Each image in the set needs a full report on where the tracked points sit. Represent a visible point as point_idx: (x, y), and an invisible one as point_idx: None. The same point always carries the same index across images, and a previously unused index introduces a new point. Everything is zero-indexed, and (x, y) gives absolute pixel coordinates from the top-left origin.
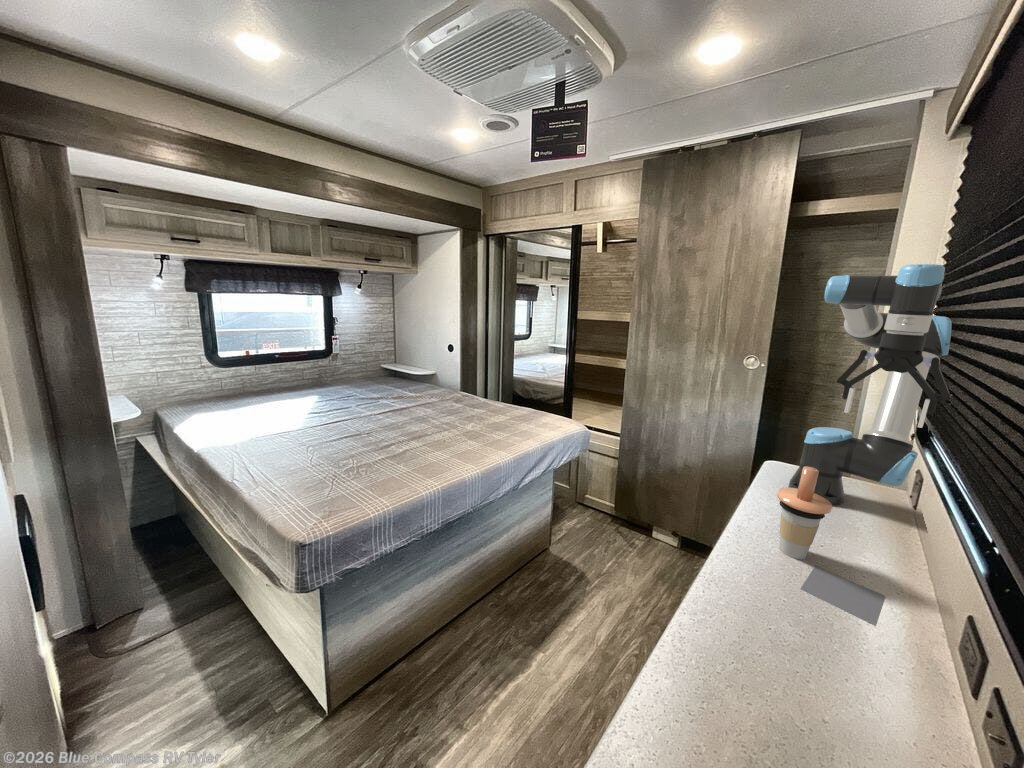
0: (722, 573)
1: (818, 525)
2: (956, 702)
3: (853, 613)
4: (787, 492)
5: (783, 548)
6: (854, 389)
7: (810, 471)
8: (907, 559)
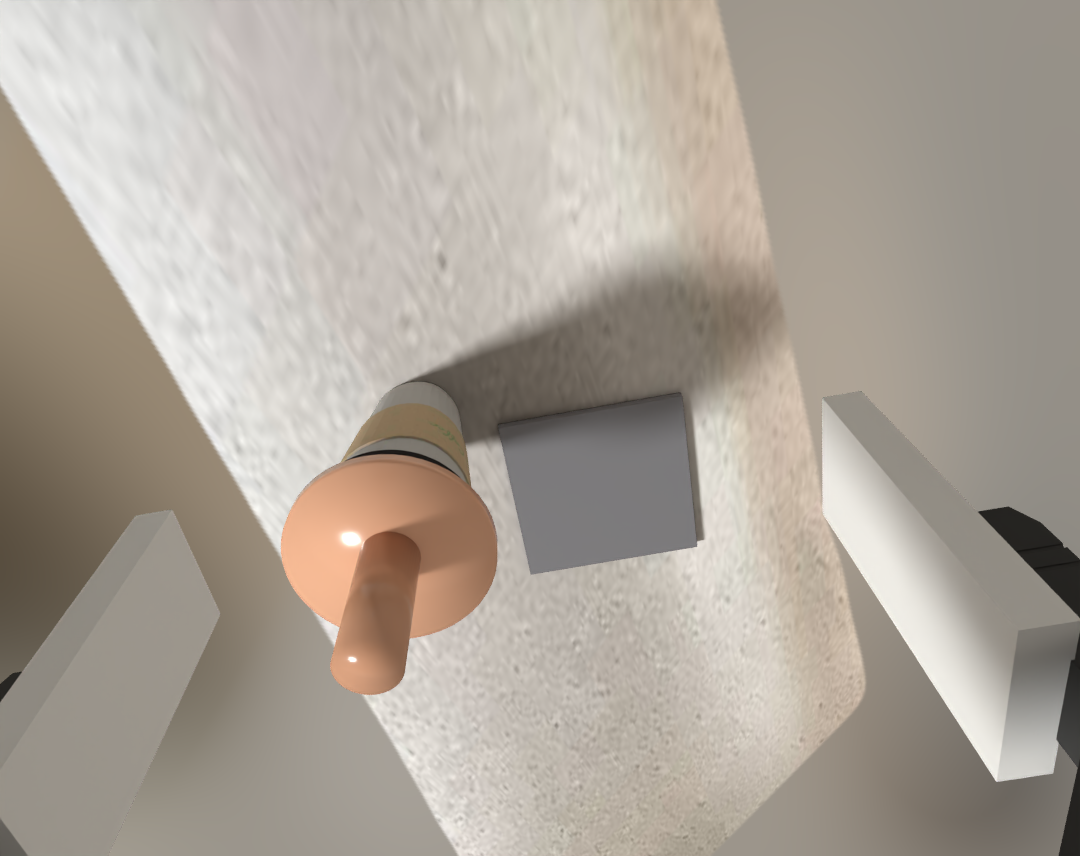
0: None
1: (466, 482)
2: (845, 609)
3: (650, 548)
4: (321, 566)
5: None
6: (43, 825)
7: (383, 691)
8: (672, 16)
